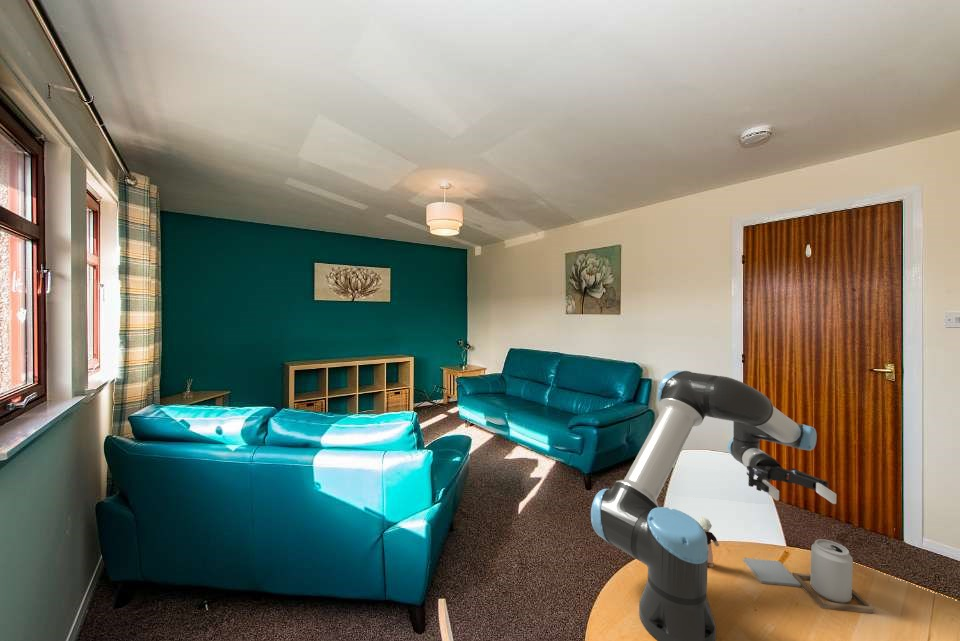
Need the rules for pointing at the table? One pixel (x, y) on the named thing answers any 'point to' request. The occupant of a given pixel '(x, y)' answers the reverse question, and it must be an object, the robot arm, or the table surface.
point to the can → (831, 571)
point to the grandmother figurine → (708, 538)
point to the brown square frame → (829, 605)
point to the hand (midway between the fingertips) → (805, 497)
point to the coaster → (771, 572)
